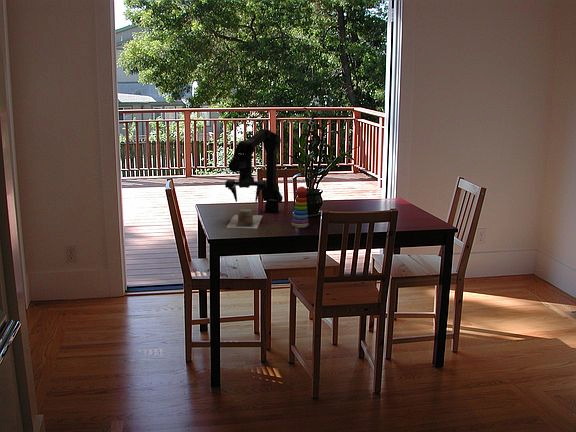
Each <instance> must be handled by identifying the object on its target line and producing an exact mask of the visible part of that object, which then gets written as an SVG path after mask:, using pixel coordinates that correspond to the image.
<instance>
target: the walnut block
mask: <svg viewBox="0 0 576 432" xmlns="http://www.w3.org/2000/svg"><path fill="white" fill-rule="evenodd" d="M237 215H238V226H251V225H252V224H253V215H254V213H253V212H252V213H242V212H240V211H239V213H238V214H237Z"/></svg>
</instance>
